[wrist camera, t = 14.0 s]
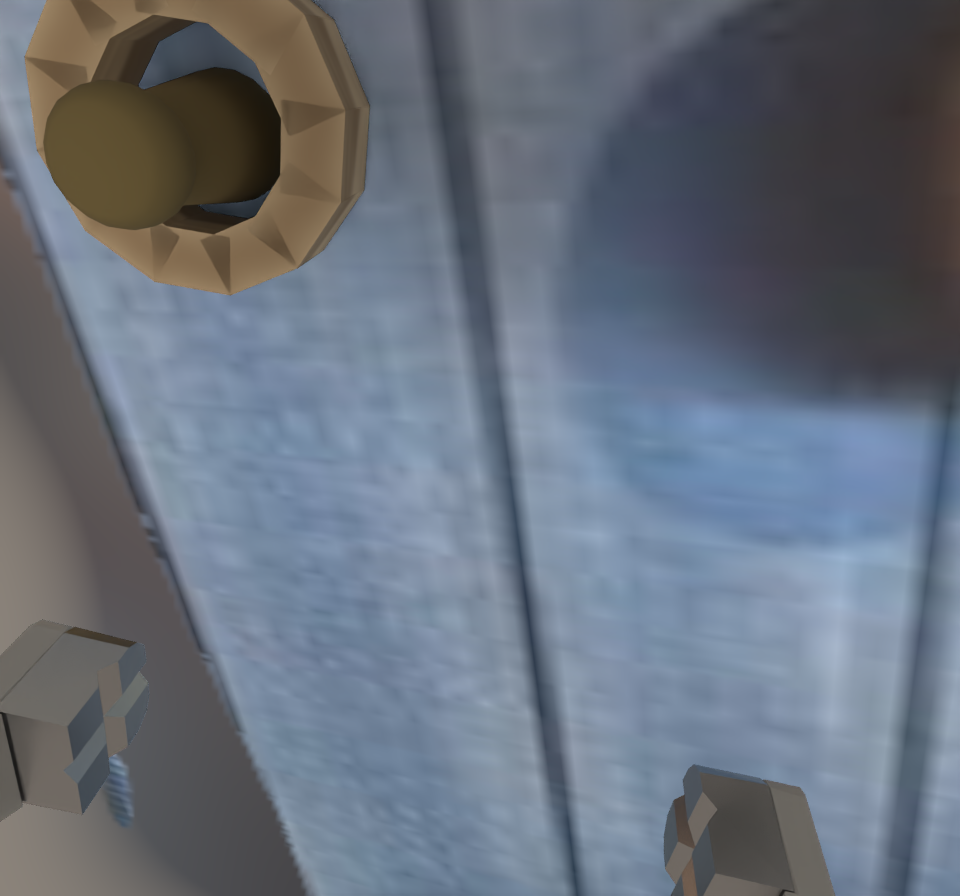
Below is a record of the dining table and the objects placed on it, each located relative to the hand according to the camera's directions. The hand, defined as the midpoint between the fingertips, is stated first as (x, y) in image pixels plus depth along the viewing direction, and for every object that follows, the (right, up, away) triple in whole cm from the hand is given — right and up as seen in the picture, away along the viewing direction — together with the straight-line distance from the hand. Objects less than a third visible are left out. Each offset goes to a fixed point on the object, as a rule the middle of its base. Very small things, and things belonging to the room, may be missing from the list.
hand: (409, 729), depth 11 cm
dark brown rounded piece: (-11, +19, +25) cm, 33 cm away
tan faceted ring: (-11, +20, +25) cm, 33 cm away
